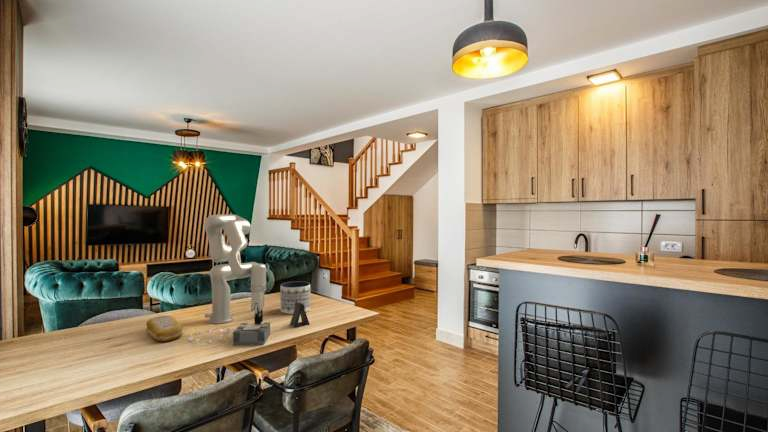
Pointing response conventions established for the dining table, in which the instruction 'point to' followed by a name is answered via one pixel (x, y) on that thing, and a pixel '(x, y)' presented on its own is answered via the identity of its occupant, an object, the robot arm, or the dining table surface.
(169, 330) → the bread
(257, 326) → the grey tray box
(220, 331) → the game piece set
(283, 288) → the planter
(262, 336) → the block
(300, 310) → the dark grey a-shaped piece
